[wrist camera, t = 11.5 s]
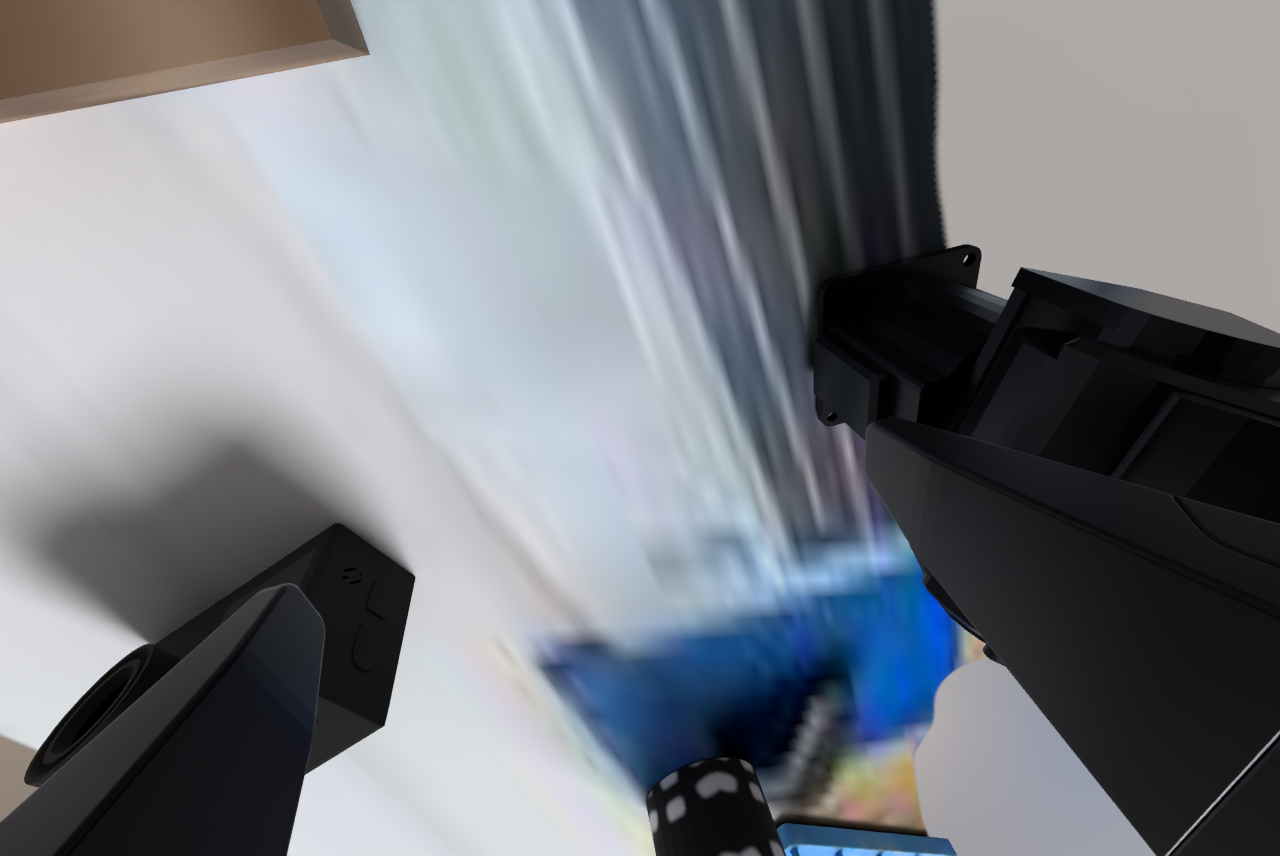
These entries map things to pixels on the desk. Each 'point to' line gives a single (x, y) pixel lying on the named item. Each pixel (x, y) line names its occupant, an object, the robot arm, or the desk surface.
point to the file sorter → (857, 842)
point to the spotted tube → (712, 812)
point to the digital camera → (351, 664)
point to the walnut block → (157, 47)
